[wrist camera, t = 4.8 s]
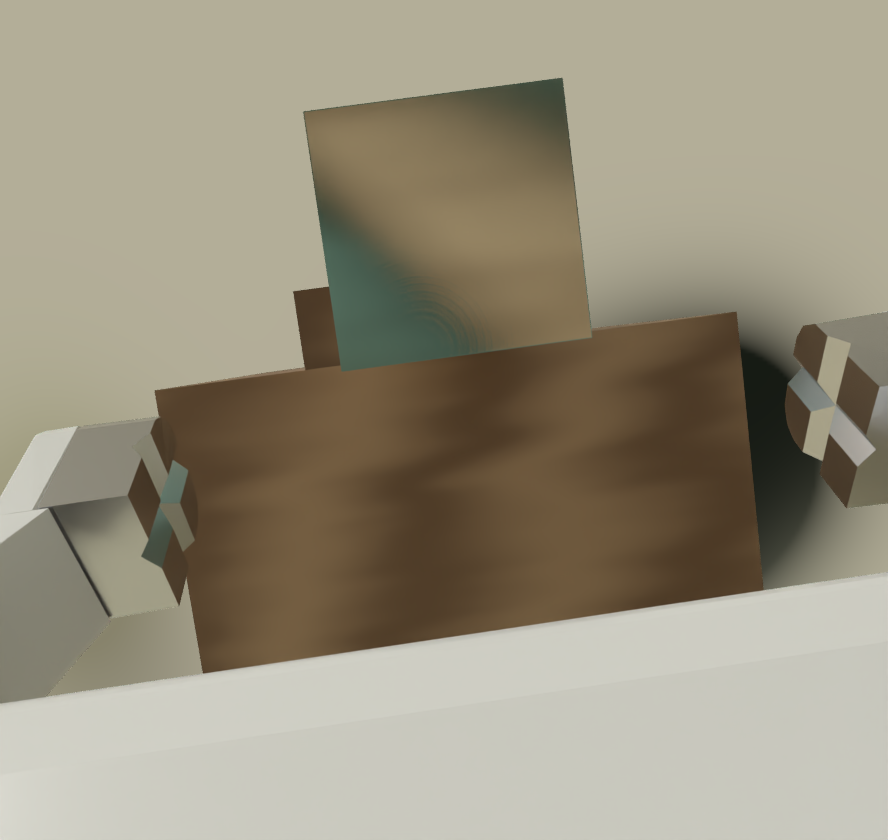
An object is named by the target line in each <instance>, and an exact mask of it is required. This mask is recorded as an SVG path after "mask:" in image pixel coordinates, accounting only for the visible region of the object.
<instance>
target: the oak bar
mask: <svg viewBox="0 0 888 840" xmlns="http://www.w3.org/2000/svg"><path fill="white" fill-rule="evenodd" d="M565 105H566V104H565V96H564V87H563V79H562V78H557V79H549V80H542V81H534V82H527V83H520V84H512V85H504V86H496V87H488V88H480V89H474V90H465V91H457V92H450V93H442V94H434V95H428V96H419V97H412V98H403V99H396V100H388V101H381V102H373V103H365V104H357V105H350V106H343V107H335V108H327V109H320V110H311V111H304V112H303V113H304V120H305V127H306V133H307V140H308V147H309V154H310V160H311V167H312V174H313V181H314V188H315V195H316V201H317V208H318V215H319V221H320V229H321V235H322V242H323V249H324V256H325V262H326V269H327V276H328V283H329V290H330V296H331V303H332V310H333V317H334V324H335V330H336V337H337V344H338V351H339V358H340V364H341V371H342V372H344V371H351V370H359V369H366V368H373V367H381V366H388V365H395V364H403V363H410V362H418V361H425V360H432V359H440V358H447V357H454V356H462V355H469V354H477V353H484V352H491V351H499V350H506V349H513V348H521V347H528V346H536V345H543V344H550V343H558V342H565V341H572V340H580V339H587V338H592V330H591V321H590V312H589V304H588V295H587V287H586V278H585V269H584V260H583V252H582V243H581V235H580V226H579V218H578V208H577V200H576V191H575V182H574V174H573V165H572V157H571V148H570V139H569V131H568V123H567V113H566V106H565Z"/></svg>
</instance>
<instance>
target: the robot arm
mask: <svg viewBox="0 0 888 840" xmlns="http://www.w3.org/2000/svg"><path fill="white" fill-rule="evenodd" d="M793 355H794V356H795V358H796V359H797V361H798V362H799V364H800V365H801V366H802V368H801V370H800V371H799V372H798V373H797V374H796V375H795V377H794V378H793V379H792V380H791V381H790V382H789V383H788V386H787V393H786V400H785V411H786V417H787V424H788V427H789V430H790V432H791V434H792V437H793V439H794V440H795V442H796V443H797V445H798V446H799V447H800V449H801V450H802V451H803V452H804V453H807V454H809V455H811V456H813V457H815V458H817V459H820V460H822V461H823V462H822V466H821V471H820V475H821V476H822V477H823V479H824V480H825V481H826V483H827V484H828V485H829V486H830V488H831V489H832V490H833V492H834V493H835V494H836V495H837V496H838V498H839V499H840V500H841V502H842V503H843V504H844V506H845V507H846V508H854V507H862V506H870V505H879V504H887V503H888V311H887V312H882V313H877V314H871V315H865V316H859V317H853V318H847V319H842V320H835V321H830V322H823V323H818V324H812V325H805V326H803V327H802V329H801V331H800V333H799V335H798V336H797V339H796V344H795V349H794V354H793ZM177 444H178V442H177V440H176V438H175V436H174V433H173V431H172V429H171V426H170V424H169V422H168V421H166V420H165V419H164V418H163V417H161V416H159V417H152V418H143V419H135V420H127V421H119V422H111V423H102V424H94V425H86V426H83V427H79V426H76V427H69V428H63V429H56V430H50V431H44V432H42V433H40V434H37V435H36V436H35V437H34V438H33V440H32V442H31V444H30V445H29V447H28V449H27V451H26V452H25V454H24V456H23V458H22V459H21V461H20V463H19V465H18V467H17V468H16V470H15V472H14V474H13V475H12V477H11V479H10V481H9V483H8V484H7V486H6V488H5V490H4V491H3V493H2V495H1V497H0V840H888V572H885V573H878V574H871V575H864V576H858V577H851V578H844V579H838V580H831V581H824V582H817V583H811V584H804V585H797V586H790V587H784V588H776V589H770V590H763V591H756V592H749V593H742V594H736V595H729V596H722V597H715V598H709V599H702V600H695V601H688V602H681V603H675V604H668V605H661V606H655V607H648V608H641V609H635V610H628V611H621V612H615V613H608V614H601V615H595V616H588V617H581V618H575V619H568V620H561V621H555V622H548V623H541V624H535V625H528V626H521V627H515V628H508V629H501V630H495V631H488V632H481V633H475V634H468V635H461V636H454V637H448V638H441V639H434V640H427V641H420V642H414V643H407V644H400V645H393V646H387V647H380V648H373V649H366V650H360V651H353V652H346V653H339V654H333V655H326V656H319V657H312V658H306V659H299V660H292V661H285V662H279V663H272V664H265V665H258V666H252V667H245V668H238V669H231V670H224V671H218V672H211V673H204V674H197V675H191V676H184V677H177V678H170V679H164V680H157V681H150V682H143V683H137V684H130V685H123V686H116V687H110V688H103V689H96V690H89V691H83V692H76V693H69V694H63V695H56V696H49V697H46V696H47V695H48V694H49V693H50V691H51V690H52V689H53V688H54V687H55V686H56V684H57V683H58V682H59V681H60V680H61V679H62V678H63V676H64V675H65V674H66V673H67V672H68V671H69V669H70V668H71V667H72V666H73V665H74V664H75V662H76V661H77V660H78V659H79V658H80V657H81V656H82V654H83V653H84V652H85V651H86V650H87V649H88V647H89V646H90V645H91V644H92V643H93V642H94V641H95V639H96V638H97V637H98V636H99V635H100V634H101V632H102V631H103V630H104V629H105V628H106V627H107V626H108V624H109V623H110V618H115V617H121V616H127V615H132V614H138V613H144V612H149V611H155V610H161V609H166V608H172V607H178V606H179V605H180V600H181V596H182V593H183V588H184V584H185V580H186V576H187V572H188V568H189V565H188V563H187V560H186V558H185V556H184V553H183V551H184V550H185V549H186V548H187V547H188V546H189V545H191V544H192V543H193V542H194V541H195V537H196V532H197V528H198V501H197V496H196V492H195V487H194V484H193V481H192V478H191V476H190V473H189V470H187V469H186V468H184V467H183V466H181V465H180V464H179V463H177V462H176V461H174V460H173V458H174V454H175V451H176V447H177Z"/></svg>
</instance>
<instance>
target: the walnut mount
mask: <svg viewBox="0 0 888 840" xmlns="http://www.w3.org/2000/svg"><path fill="white" fill-rule="evenodd" d="M293 293H294V299H295V306H296V313H297V319H298V326H299V332H300V339H301V346H302V352H303V359H304V365H305V367H304V368H297V369H290V370H282V371H274V372H267V373H261V374H255V375H249V376H243V377H236V378H230V379H223V380H217V381H211V382H205V383H199V384H193V385H187V386H180V387H174V388H168V389H161V390H155V396H156V401H157V408H158V413H159V416H161V417H163V418H164V419H165V420H166V421H168V422H169V424H170V426H171V429H172V431H173V433H174V436H175V438H176V440H177V442H178V444H177V447H176V451H175V454H174V458H173V460H174V461H176V462H177V463H179V464H180V465H181V466H183V467H184V468H186V469H187V470H189V473H190V476H191V478H192V481H193V484H194V487H195V492H196V496H197V501H198V528H197V532H196V537H195V541H194V542H193V543H192V544H191V545H189V546H188V547H187V548H186V549H185V550H184V551H183V553H184V556H185V558H186V560H187V563H188V565H189V568H188V572H187V576H186V577H187V583H188V589H189V595H190V600H191V606H192V612H193V618H194V623H195V629H196V635H197V641H198V647H199V653H200V659H201V665H202V670H203V674H204V673H211V672H218V671H224V670H231V669H238V668H245V667H252V666H258V665H265V664H272V663H279V662H285V661H292V660H299V659H306V658H312V657H319V656H326V655H333V654H339V653H346V652H353V651H360V650H366V649H373V648H380V647H387V646H393V645H400V644H407V643H414V642H420V641H427V640H434V639H441V638H448V637H454V636H461V635H468V634H475V633H481V632H488V631H495V630H501V629H508V628H515V627H521V626H528V625H535V624H541V623H548V622H555V621H561V620H568V619H575V618H581V617H588V616H595V615H601V614H608V613H615V612H621V611H628V610H635V609H641V608H648V607H655V606H661V605H668V604H675V603H681V602H688V601H695V600H702V599H709V598H715V597H722V596H729V595H736V594H742V593H749V592H756V591H763V580H762V569H761V559H760V549H759V538H758V528H757V518H756V508H755V498H754V488H753V477H752V467H751V456H750V447H749V435H748V425H747V415H746V405H745V394H744V385H743V374H742V363H741V353H740V343H739V333H738V322H737V313H736V312H730V313H722V314H713V315H704V316H695V317H686V318H677V319H669V320H660V321H652V322H642V323H633V324H625V325H616V326H607V327H600V328H593V329H591V330H592V338H587V339H580V340H572V341H565V342H558V343H550V344H543V345H536V346H528V347H521V348H513V349H506V350H499V351H491V352H484V353H477V354H469V355H462V356H454V357H447V358H440V359H432V360H425V361H418V362H410V363H403V364H395V365H388V366H381V367H373V368H366V369H359V370H351V371H344V372H342V371H341V364H340V358H339V351H338V344H337V337H336V330H335V324H334V317H333V310H332V303H331V296H330V290H329V287H323V288H316V289H309V290H301V291H294V292H293Z"/></svg>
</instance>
